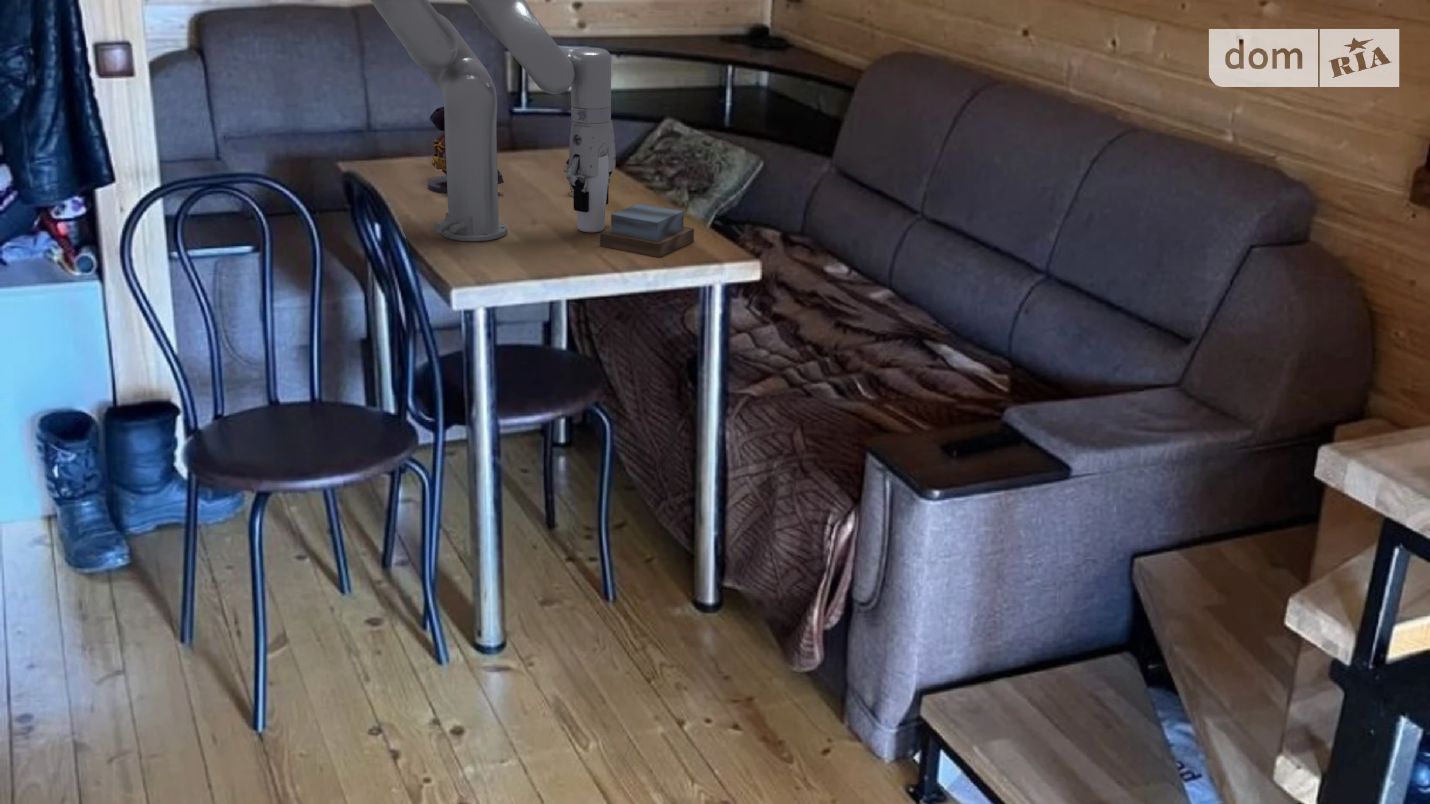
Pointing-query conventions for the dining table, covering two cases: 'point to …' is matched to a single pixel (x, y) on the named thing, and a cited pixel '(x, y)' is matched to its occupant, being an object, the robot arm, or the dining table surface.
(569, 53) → the robot arm
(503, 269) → the dining table surface
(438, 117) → the figurine
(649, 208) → the stone block on base
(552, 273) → the dining table surface
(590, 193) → the drinking glass
